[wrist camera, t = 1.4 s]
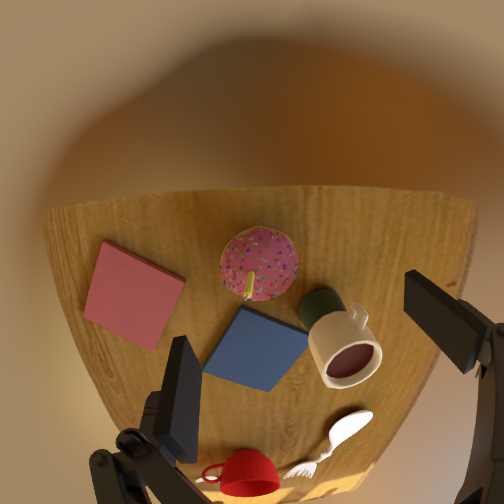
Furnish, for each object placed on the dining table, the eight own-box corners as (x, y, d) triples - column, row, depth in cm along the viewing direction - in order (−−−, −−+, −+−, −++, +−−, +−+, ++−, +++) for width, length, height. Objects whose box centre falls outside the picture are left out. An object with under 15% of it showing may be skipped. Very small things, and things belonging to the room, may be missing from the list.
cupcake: (222, 283, 35) (222, 341, 24) (219, 218, 32) (214, 253, 21) (288, 280, 36) (314, 334, 25) (290, 216, 33) (323, 248, 22)
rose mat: (105, 239, 32) (102, 241, 31) (186, 279, 35) (185, 283, 34) (85, 313, 35) (82, 316, 34) (154, 347, 38) (153, 351, 37)
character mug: (327, 338, 40) (358, 398, 28) (284, 334, 39) (305, 400, 27) (353, 275, 37) (401, 325, 24) (307, 266, 35) (345, 321, 23)
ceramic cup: (207, 437, 47) (206, 476, 38) (282, 443, 50) (289, 479, 41) (198, 460, 51) (197, 493, 42) (264, 466, 54) (268, 497, 44)
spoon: (280, 470, 56) (282, 480, 53) (345, 403, 47) (351, 415, 43) (308, 470, 58) (311, 479, 54) (377, 404, 48) (382, 415, 45)
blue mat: (241, 304, 37) (241, 308, 36) (312, 333, 39) (314, 337, 38) (202, 367, 40) (201, 371, 39) (268, 388, 43) (268, 392, 42)
